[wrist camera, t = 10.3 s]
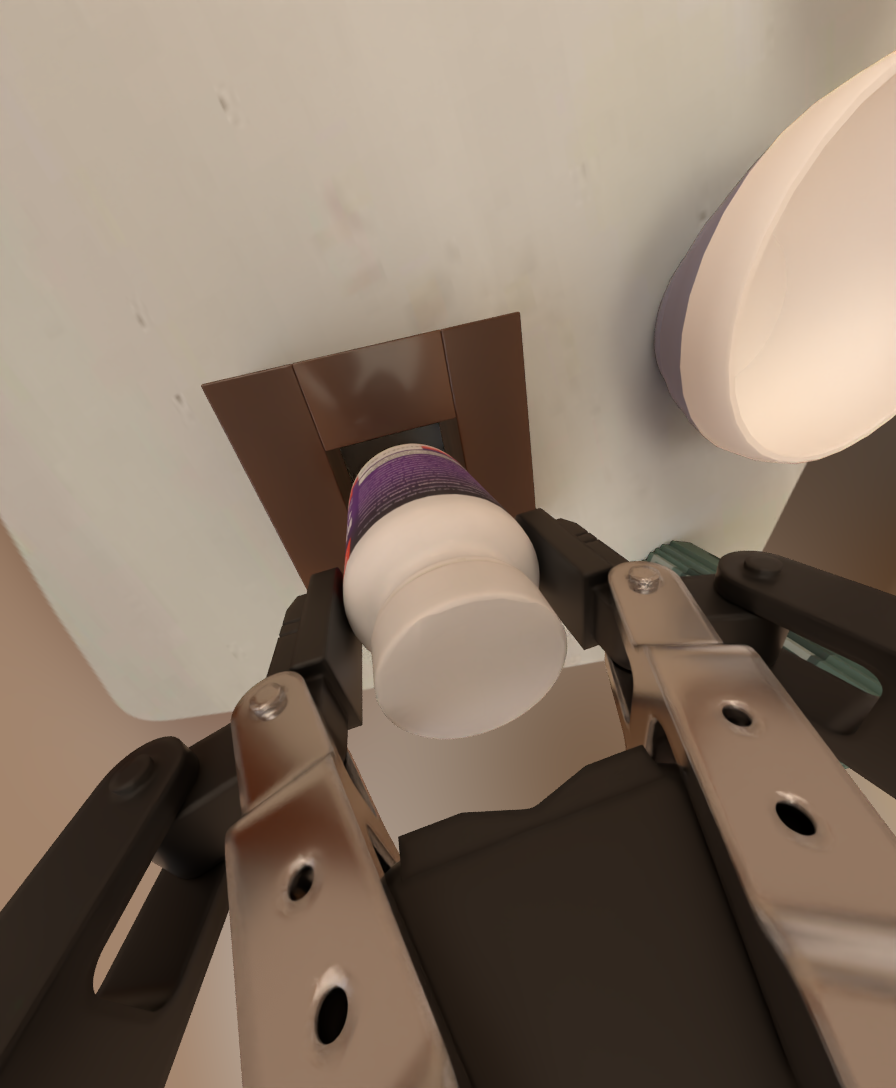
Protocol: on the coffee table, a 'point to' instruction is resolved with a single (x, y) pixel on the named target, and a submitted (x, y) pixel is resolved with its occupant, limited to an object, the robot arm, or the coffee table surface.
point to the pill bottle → (445, 597)
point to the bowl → (795, 288)
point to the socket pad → (378, 425)
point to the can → (700, 562)
